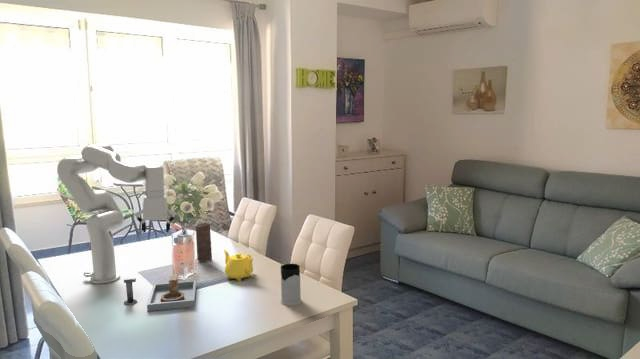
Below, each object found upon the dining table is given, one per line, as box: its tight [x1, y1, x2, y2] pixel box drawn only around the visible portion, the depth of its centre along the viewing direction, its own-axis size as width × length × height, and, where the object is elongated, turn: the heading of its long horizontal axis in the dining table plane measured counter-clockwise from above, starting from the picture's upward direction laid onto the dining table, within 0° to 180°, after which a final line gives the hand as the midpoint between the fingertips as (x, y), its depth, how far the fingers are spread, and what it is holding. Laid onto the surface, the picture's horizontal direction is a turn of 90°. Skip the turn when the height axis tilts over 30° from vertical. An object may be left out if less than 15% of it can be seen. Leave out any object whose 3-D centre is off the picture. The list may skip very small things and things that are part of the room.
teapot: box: [223, 249, 255, 282], centre depth 224 cm, size 20×15×12 cm
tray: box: [146, 279, 197, 313], centre depth 201 cm, size 18×22×3 cm
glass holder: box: [280, 263, 303, 307], centre depth 198 cm, size 9×14×15 cm, turn 28°
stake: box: [123, 277, 138, 306], centre depth 196 cm, size 5×5×10 cm
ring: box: [161, 274, 184, 302], centre depth 200 cm, size 9×15×7 cm, turn 12°
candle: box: [195, 222, 213, 262], centre depth 246 cm, size 8×7×20 cm
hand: (156, 231), depth 210 cm, fingers open, 9 cm apart
